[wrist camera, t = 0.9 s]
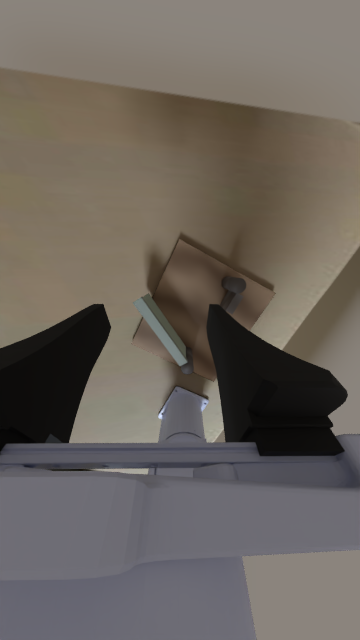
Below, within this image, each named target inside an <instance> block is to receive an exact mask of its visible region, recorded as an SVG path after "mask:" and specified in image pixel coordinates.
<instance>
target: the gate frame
mask: <svg viewBox="0 0 360 640" xmlns="http://www.w3.org/2000/svg"><path fill="white" fill-rule="evenodd" d="M275 294H276V293H275V292H273V291H271V290H269V289H267V288H266V287H264V286H262V285H260V284H259V283H257V282H255V281H253V280H251V279H250V278H248V277H246V276H244V275H242V274H241V273H239V272H237V271H235V270H234V269H232V268H230V267H228V266H226V265H225V264H223V263H221V262H219V261H218V260H216V259H214V258H212V257H210V256H209V255H207V254H205V253H203V252H202V251H200V250H198V249H196V248H194V247H193V246H191V245H189V244H187V243H186V242H184V241H182V240H180V239H179V241H178V243H177V245H176V248H175V250H174V252H173V254H172V256H171V258H170V261H169V263H168V265H167V267H166V269H165V272H164V274H163V276H162V278H161V280H160V282H159V285H158V287H157V289H156V291H155V293H154V295H153V298H152V299H153V300H154V302H155V303H156V305H157V306H158V307H159V309H160V310H161V312H162V313H163V315H164V316H165V317H166V319H167V320H168V322H169V323H170V325H171V326H172V327H173V329H174V330H175V332H176V333H177V335H178V336H179V337H180V339H181V340H182V342H183V343H184V345H185V346H186V358H187V361H188V362H187V363H185V364H183V365H182V366H180V367H181V371H182V372H183V373H184V374H191V373H192V372H194V373H196V374H198V375H200V376H202V377H205V378H207V379H209V380H211V381H213V382H214V381H215V379H216V378H217V373H216V369H215V365H214V361H213V357H212V354H211V350H210V346H209V342H208V338H207V330H206V325H207V318H208V310H209V304H219V305H220V306H221V307H222V308H223V309H224V310H225V311H226V312H227V313H228V314H229V315H231V316H232V317H233V318H234V319H235V320H236V321H237V322H239V323H240V324H241V325H242V326H244V327H245V328H246V329H247V330H249V331H250V329H251V328H252V326H253V325H254V324H255V322H256V321H257V319H258V318H259V316H260V315H261V314H262V312H263V311H264V309H265V308H266V306H267V305H268V304H269V302H270V301H271V299H272V298H273V296H274V295H275ZM131 344H132V345H134V346H137V347H139V348H141V349H143V350H145V351H148V352H150V353H152V354H154V355H156V356H158V357H161V358H163V359H165V360H167V361H169V362H172V363H174V364H176V365H178V363H177V362H176V361H175V359H174V358H173V357H172V355H171V354H170V352H169V351H168V350H167V348H166V347H165V346H164V344H163V343H162V342H161V340H160V339H159V338H158V336H157V335H156V334H155V332H154V331H153V330H152V328H151V327H150V325H149V324H148V323H147V321H146V320H145V319H144V317H143V319H142V322H141V324H140V326H139V328H138V330H137V332H136V335H135V337H134V339H133V341H132V343H131ZM178 366H179V365H178Z"/></svg>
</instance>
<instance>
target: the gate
mask: <svg viewBox="0 0 360 640" xmlns="http://www.w3.org/2000/svg"><path fill="white" fill-rule="evenodd" d="M133 304H134V305H135V307H136V308H137V309H138V311H139V312H140V313H141V315H142V316H143V317H144V319H145V320H146V321H147V323H148V324H149V325H150V327H151V328H152V330H153V331H154V332H155V334H156V335H157V336H158V338H159V339H160V340H161V342H162V343H163V344H164V346H165V347H166V348H167V350H168V351H169V352H170V354H171V355H172V357H173V358H174V359H175V361H176V362H177V363H178V365H179V366H182V365H183V364H185V363H187V362H188V361H187V358H186V346H185V345H184V343H183V342H182V340H181V339H180V337H179V336H178V335H177V333H176V332H175V330H174V329H173V327H172V326H171V325H170V323H169V322H168V320H167V319H166V317H165V316H164V315H163V313H162V312H161V310H160V309H159V307H158V306H157V305H156V303H155V302H154V300H153V299H152V297H151V296H150V295H149V293H148V294H147V295H145V296H144V297H141V298H139V299H138V300H136V301H135V302H133Z"/></svg>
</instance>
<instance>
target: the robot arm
mask: <svg viewBox="0 0 360 640" xmlns="http://www.w3.org/2000/svg"><path fill="white" fill-rule="evenodd" d="M110 329H111V326H110V323H109V320H108V317H107V314H106V311H105V308H104V305H103V304H93V305H91V306H89V307H87V308H85V309H83V310H81V311H80V312H78V313H76V314H74V315H73V316H71V317H69V318H67V319H66V320H64V321H62V322H60V323H58V324H56V325H54V326H52V327H50V328H48V329H46V330H44V331H42V332H40V333H38V334H36V335H33V336H31V337H29V338H26V339H24V340H21V341H19V342H16V343H14V344H11V345H8V346H6V347H3V348H0V640H257V639H256V634H255V628H254V622H253V617H252V611H251V605H250V600H249V594H248V588H247V583H246V577H245V572H244V566H243V560H242V556H253V555H272V554H290V553H309V552H327V551H346V550H360V434H343V435H338V436H335V435H334V434H333V433H332V431H331V429H330V428H331V427H333V423H332V422H331V420H330V419H329V418H328V415H329V414H330V413H332V412H333V411H334V410H336V409H337V408H338V407H340V406H341V405H342V404H343V403H344V402H345V401H346V398H347V396H348V394H347V391H346V389H345V388H344V387H343V386H342V385H341V384H340V383H339V381H338V380H337V379H336V378H335V377H334V376H333V375H332V374H331V372H330V371H328V370H326V369H323V368H321V367H318V366H316V365H313V364H311V363H308V362H306V361H303V360H301V359H299V358H296V357H295V356H292V355H290V354H288V353H286V352H284V351H282V350H280V349H278V348H276V347H274V346H273V345H271V344H269V343H267V342H266V341H264V340H262V339H261V338H259V337H258V336H256V335H255V334H253V333H252V332H250V331H249V330H247V329H246V328H245V327H244V326H242V325H241V324H240V323H239V322H237V321H236V320H235V319H234V318H233V317H232V316H231V315H229V314H228V313H227V312H226V311H225V310H224V309H223V308H222V307H221V306H220V305H219V304H209V310H208V318H207V325H206V330H207V338H208V342H209V346H210V350H211V354H212V357H213V361H214V365H215V369H216V373H217V379H218V386H219V393H220V399H221V407H222V415H223V423H224V431H225V441H226V442H225V443H207V442H206V439H205V435H204V427H203V419H202V411H203V410H204V408H205V407H206V405H207V404H208V402H209V401H208V399H206V398H203V397H201V396H199V395H197V394H194V393H192V392H190V391H188V390H185V389H183V388H181V387H178V386H176V387H175V389H174V390H173V392H172V393H171V395H170V397H169V398H168V400H167V402H166V403H165V405H164V407H163V408H162V410H161V411H160V413H159V415H158V417H159V418H160V419H162V421H161V428H160V434H159V441H158V443H69V440H70V436H71V432H72V428H73V425H74V421H75V417H76V414H77V411H78V408H79V404H80V401H81V398H82V395H83V392H84V389H85V386H86V384H87V381H88V379H89V376H90V373H91V371H92V369H93V367H94V365H95V363H96V361H97V359H98V357H99V355H100V353H101V351H102V349H103V347H104V345H105V343H106V341H107V339H108V336H109V333H110ZM176 390H177V391H176ZM115 468H149V471H148V475H146V474H126V473H120V472H103V471H51V470H44V469H115Z"/></svg>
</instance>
